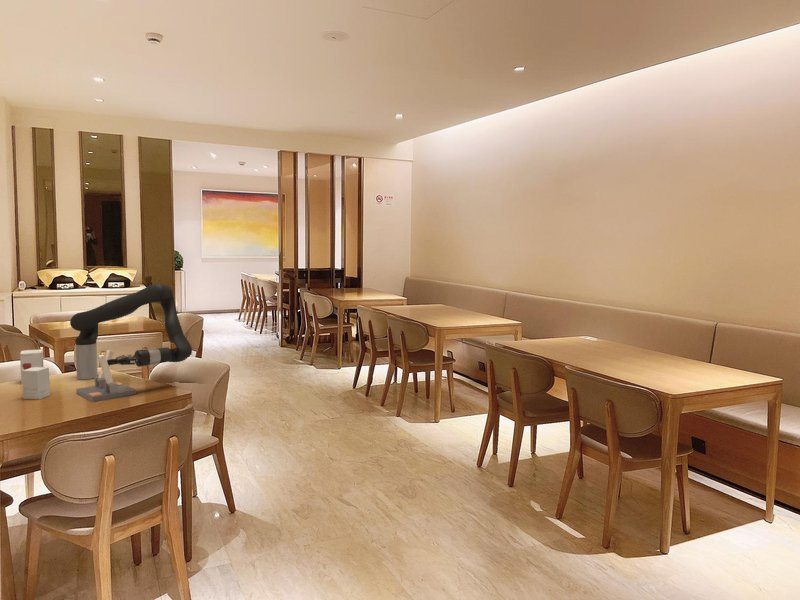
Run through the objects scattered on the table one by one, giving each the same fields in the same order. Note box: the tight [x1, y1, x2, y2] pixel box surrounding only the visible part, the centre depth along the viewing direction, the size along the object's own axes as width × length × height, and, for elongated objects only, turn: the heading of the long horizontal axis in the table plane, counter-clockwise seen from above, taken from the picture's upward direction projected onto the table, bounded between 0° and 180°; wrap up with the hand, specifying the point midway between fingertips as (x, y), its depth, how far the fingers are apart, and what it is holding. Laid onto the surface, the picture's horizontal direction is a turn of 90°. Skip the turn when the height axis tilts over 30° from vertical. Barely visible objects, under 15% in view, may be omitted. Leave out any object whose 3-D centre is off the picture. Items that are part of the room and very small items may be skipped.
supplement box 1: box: [19, 349, 44, 385], centre depth 266 cm, size 9×9×15 cm
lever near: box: [97, 353, 115, 387], centre depth 240 cm, size 3×2×15 cm
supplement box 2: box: [21, 366, 51, 400], centre depth 238 cm, size 7×7×13 cm
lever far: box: [97, 349, 115, 382], centre depth 251 cm, size 3×2×15 cm
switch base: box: [75, 377, 137, 403], centre depth 246 cm, size 20×18×6 cm
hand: (107, 362), depth 240 cm, fingers closed
